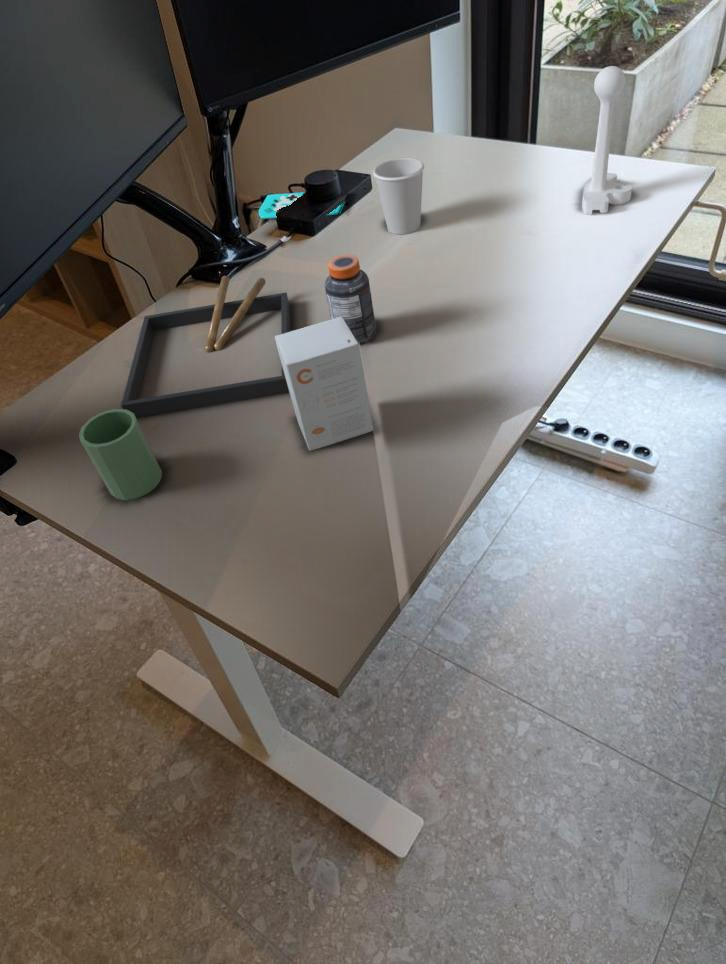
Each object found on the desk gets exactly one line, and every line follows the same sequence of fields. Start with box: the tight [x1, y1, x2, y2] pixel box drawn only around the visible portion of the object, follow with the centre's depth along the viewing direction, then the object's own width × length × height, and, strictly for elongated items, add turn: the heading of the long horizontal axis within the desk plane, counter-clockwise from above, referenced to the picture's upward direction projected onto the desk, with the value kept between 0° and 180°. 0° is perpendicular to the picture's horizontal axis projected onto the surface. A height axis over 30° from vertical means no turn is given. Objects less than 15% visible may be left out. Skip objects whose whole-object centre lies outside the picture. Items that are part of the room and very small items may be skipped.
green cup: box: [78, 408, 163, 501], centre depth 77 cm, size 6×6×9 cm
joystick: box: [581, 65, 633, 216], centre depth 107 cm, size 11×8×20 cm
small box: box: [274, 316, 375, 451], centre depth 77 cm, size 8×6×13 cm
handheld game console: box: [258, 191, 346, 219], centre depth 128 cm, size 10×16×1 cm, turn 81°
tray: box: [120, 292, 291, 418], centre depth 95 cm, size 22×22×3 cm
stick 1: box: [204, 275, 230, 353], centre depth 99 cm, size 1×1×14 cm
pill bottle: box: [324, 254, 377, 346], centre depth 92 cm, size 6×6×11 cm
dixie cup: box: [372, 157, 425, 235], centre depth 114 cm, size 8×8×10 cm
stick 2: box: [214, 277, 266, 351], centre depth 99 cm, size 1×1×14 cm
